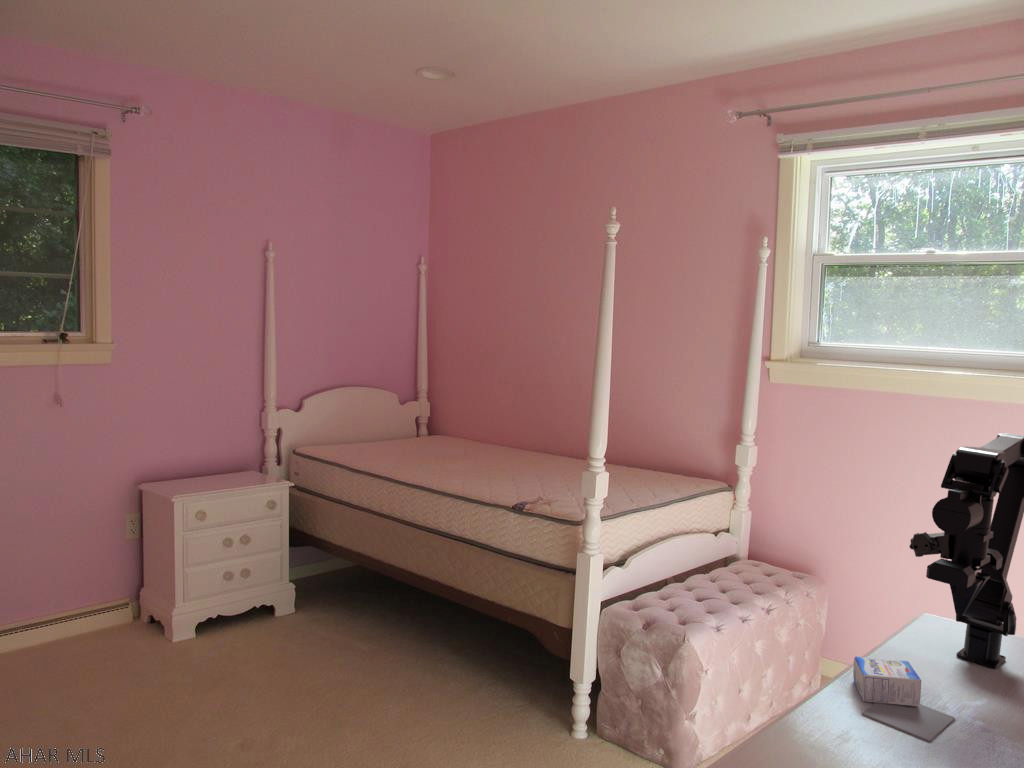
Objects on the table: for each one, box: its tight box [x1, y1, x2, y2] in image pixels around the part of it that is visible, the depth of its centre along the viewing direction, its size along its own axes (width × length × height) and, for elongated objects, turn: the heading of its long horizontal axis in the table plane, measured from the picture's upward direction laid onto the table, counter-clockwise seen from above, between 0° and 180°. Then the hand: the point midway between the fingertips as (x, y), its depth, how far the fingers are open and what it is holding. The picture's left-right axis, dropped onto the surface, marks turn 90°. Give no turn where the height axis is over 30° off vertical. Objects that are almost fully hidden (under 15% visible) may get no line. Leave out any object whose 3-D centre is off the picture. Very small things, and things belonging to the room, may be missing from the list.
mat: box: [861, 702, 956, 743], centre depth 128 cm, size 10×10×1 cm
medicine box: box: [852, 656, 922, 706], centre depth 135 cm, size 8×4×9 cm
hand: (959, 614), depth 140 cm, fingers closed
